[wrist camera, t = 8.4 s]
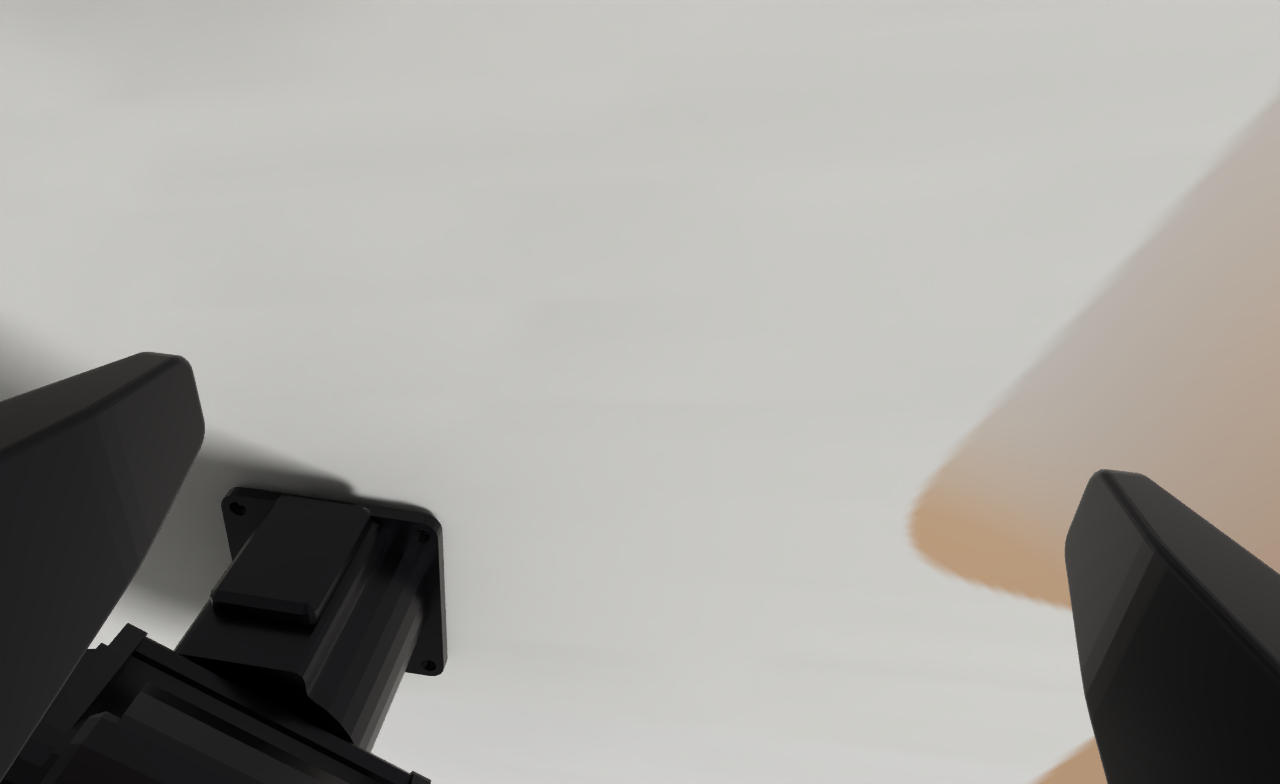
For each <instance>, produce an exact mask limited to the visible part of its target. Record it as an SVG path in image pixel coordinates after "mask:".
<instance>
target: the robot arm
mask: <svg viewBox="0 0 1280 784" xmlns="http://www.w3.org/2000/svg"><path fill="white" fill-rule="evenodd" d="M204 433H205V423H204V417H203V413H202V409H201V404H200V400H199V396H198V391H197V387H196V382H195V378H194V374H193V370H192V367H191V365H190V364H189V362H188V361H187V360H186V359H185V358H183V357H182V356H179V355H171V354H163V353H155V352H142V353H138V354H135V355H132V356H129V357H127V358H124V359H121V360H118V361H115V362H112V363H109V364H107V365H104V366H101V367H98V368H95V369H92V370H89V371H87V372H84V373H81V374H78V375H75V376H72V377H69V378H67V379H64V380H61V381H58V382H55V383H52V384H50V385H47V386H44V387H41V388H38V389H35V390H32V391H30V392H27V393H24V394H21V395H18V396H15V397H12V398H10V399H7V400H4V401H1V402H0V784H431V780H430V779H428V778H426V777H424V776H422V775H420V774H418V773H416V772H414V771H412V772H411V773H408V772H406V771H404V770H402V769H401V768H399V767H397V766H395V765H393V764H391V763H389V762H387V761H385V760H383V759H381V758H379V757H377V756H375V755H374V754H372V753H371V751H372V748H373V746H374V743H375V741H376V739H377V736H378V734H379V732H380V729H381V727H382V724H383V722H384V720H385V717H386V715H387V713H388V710H389V708H390V706H391V703H392V701H393V698H394V696H395V694H396V691H397V689H398V687H399V684H400V682H401V680H402V677H403V675H404V672H408V673H414V674H421V675H427V676H436V675H439V674H441V673H442V672H443V670H444V667H445V665H446V662H447V634H446V610H445V585H444V560H443V535H442V527H441V524H440V523H439V521H438V520H437V519H435V518H434V517H432V516H430V515H427V514H422V513H415V512H408V511H401V510H395V509H388V508H381V507H374V506H367V505H361V504H354V503H347V502H340V501H333V500H327V499H320V498H313V497H306V496H299V495H293V494H286V493H279V492H272V491H265V490H258V489H252V488H245V487H235V488H233V489H231V490H230V491H229V492H228V494H227V495H226V496H225V498H224V499H223V500H222V504H221V507H222V512H223V517H224V522H225V527H226V532H227V537H228V542H229V547H230V551H231V556H232V563H231V564H230V566H229V567H228V568H227V570H226V571H225V573H224V574H223V576H222V577H221V578H220V580H219V581H218V583H217V584H216V586H215V587H214V588H213V590H212V591H211V594H210V599H209V601H208V602H207V603H206V605H205V606H204V608H203V609H202V611H201V612H200V613H199V615H198V616H197V618H196V619H195V621H194V622H193V623H192V625H191V626H190V628H189V629H188V631H187V632H186V633H185V635H184V636H183V638H182V639H181V641H180V642H179V643H178V645H177V646H176V648H175V649H174V651H173V650H171V649H169V648H167V647H165V646H163V645H161V644H159V643H157V642H156V641H154V640H152V639H150V638H148V637H146V636H147V634H148V633H147V632H145V631H143V630H141V629H139V628H137V627H135V626H133V625H131V624H129V623H127V624H126V626H125V627H124V628H123V629H122V630H121V631H120V633H119V634H118V635H117V636H116V637H115V638H114V640H113V641H112V642H111V643H110V644H109V645H108V646H107V645H105V644H103V643H101V644H100V645H99V646H98V647H97V648H96V649H88V647H89V645H90V644H91V642H92V641H93V639H94V638H95V636H96V635H97V633H98V632H99V630H100V629H101V627H102V625H103V624H104V622H105V621H106V619H107V618H108V616H109V615H110V613H111V612H112V610H113V609H114V607H115V605H116V604H117V602H118V601H119V599H120V598H121V596H122V595H123V593H124V592H125V590H126V589H127V587H128V585H129V584H130V582H131V581H132V579H133V577H134V576H135V574H136V572H137V571H138V569H139V567H140V566H141V564H142V562H143V560H144V559H145V557H146V555H147V553H148V551H149V549H150V548H151V546H152V544H153V542H154V540H155V538H156V536H157V534H158V532H159V530H160V528H161V526H162V524H163V522H164V520H165V518H166V516H167V514H168V512H169V510H170V508H171V506H172V504H173V502H174V500H175V498H176V496H177V494H178V492H179V490H180V488H181V486H182V484H183V482H184V480H185V478H186V476H187V474H188V472H189V470H190V468H191V466H192V464H193V462H194V460H195V458H196V456H197V454H198V452H199V450H200V448H201V445H202V443H203V439H204ZM239 503H241V504H242V505H243V506H241V505H240V504H239ZM244 506H245V507H244ZM419 529H422V530H424V531H426V532H427V533H428V534H425V533H422V532H421V531H420V530H419ZM1065 562H1066V570H1067V577H1068V584H1069V591H1070V598H1071V605H1072V613H1073V620H1074V627H1075V634H1076V641H1077V648H1078V655H1079V663H1080V670H1081V676H1082V682H1083V688H1084V694H1085V699H1086V703H1087V707H1088V712H1089V716H1090V720H1091V724H1092V727H1093V731H1094V735H1095V739H1096V742H1097V746H1098V750H1099V754H1100V757H1101V761H1102V765H1103V768H1104V772H1105V776H1106V779H1107V783H1108V784H1280V574H1278V573H1277V572H1276V571H1274V570H1273V569H1272V568H1270V567H1269V566H1268V565H1266V564H1265V563H1263V562H1262V561H1261V560H1259V559H1258V558H1257V557H1255V556H1254V555H1253V554H1251V553H1250V552H1249V551H1247V550H1246V549H1245V548H1243V547H1242V546H1240V545H1239V544H1238V543H1236V542H1235V541H1234V540H1232V539H1231V538H1229V537H1228V536H1227V535H1225V534H1224V533H1223V532H1221V531H1220V530H1219V529H1217V528H1216V527H1215V526H1213V525H1212V524H1210V523H1209V522H1208V521H1206V520H1205V519H1204V518H1202V517H1201V516H1200V515H1198V514H1197V513H1196V512H1194V511H1193V510H1191V509H1190V508H1189V507H1187V506H1186V505H1185V504H1183V503H1182V502H1181V501H1179V500H1178V499H1176V498H1175V497H1174V496H1172V495H1171V494H1170V493H1168V492H1167V491H1166V490H1164V489H1163V488H1161V487H1160V486H1159V485H1157V484H1156V483H1155V482H1153V481H1152V480H1150V479H1149V478H1148V477H1146V476H1145V475H1142V474H1139V473H1133V472H1125V471H1116V470H1108V469H1107V470H1106V469H1101V470H1099V471H1097V472H1095V473H1094V474H1093V476H1092V477H1091V478H1090V480H1089V482H1088V484H1087V487H1086V489H1085V491H1084V494H1083V496H1082V499H1081V501H1080V504H1079V506H1078V509H1077V511H1076V514H1075V516H1074V519H1073V521H1072V523H1071V526H1070V529H1069V531H1068V534H1067V537H1066V542H1065Z"/></svg>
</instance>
